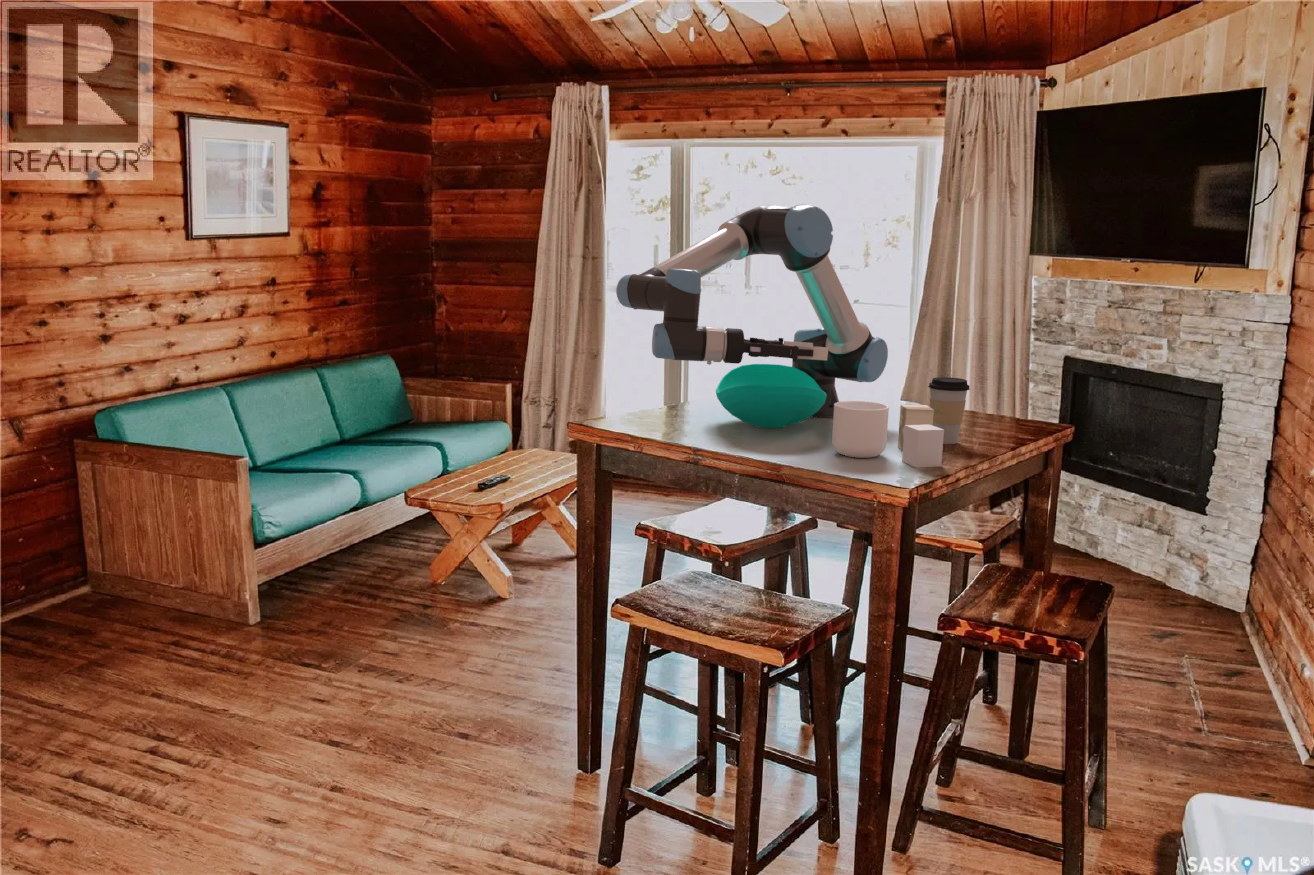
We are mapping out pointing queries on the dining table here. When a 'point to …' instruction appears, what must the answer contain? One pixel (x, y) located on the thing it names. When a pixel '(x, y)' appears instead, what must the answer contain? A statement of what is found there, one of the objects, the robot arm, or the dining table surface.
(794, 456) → the dining table surface
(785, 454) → the dining table surface
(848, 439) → the handleless ceramic cup
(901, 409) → the birch block
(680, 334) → the robot arm
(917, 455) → the pale pink block
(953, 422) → the coffee cup
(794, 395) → the table top decor
